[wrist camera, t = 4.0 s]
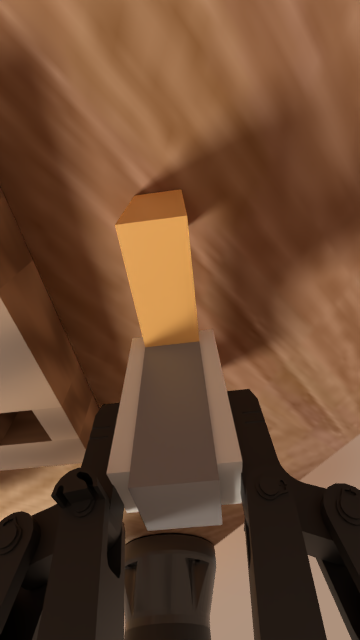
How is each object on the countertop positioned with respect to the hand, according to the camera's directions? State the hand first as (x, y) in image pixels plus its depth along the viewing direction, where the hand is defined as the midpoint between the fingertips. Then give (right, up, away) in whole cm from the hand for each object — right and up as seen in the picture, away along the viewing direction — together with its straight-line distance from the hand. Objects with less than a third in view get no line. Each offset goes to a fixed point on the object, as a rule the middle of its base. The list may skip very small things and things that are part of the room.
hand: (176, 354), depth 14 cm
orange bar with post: (0, +3, +4) cm, 5 cm away
